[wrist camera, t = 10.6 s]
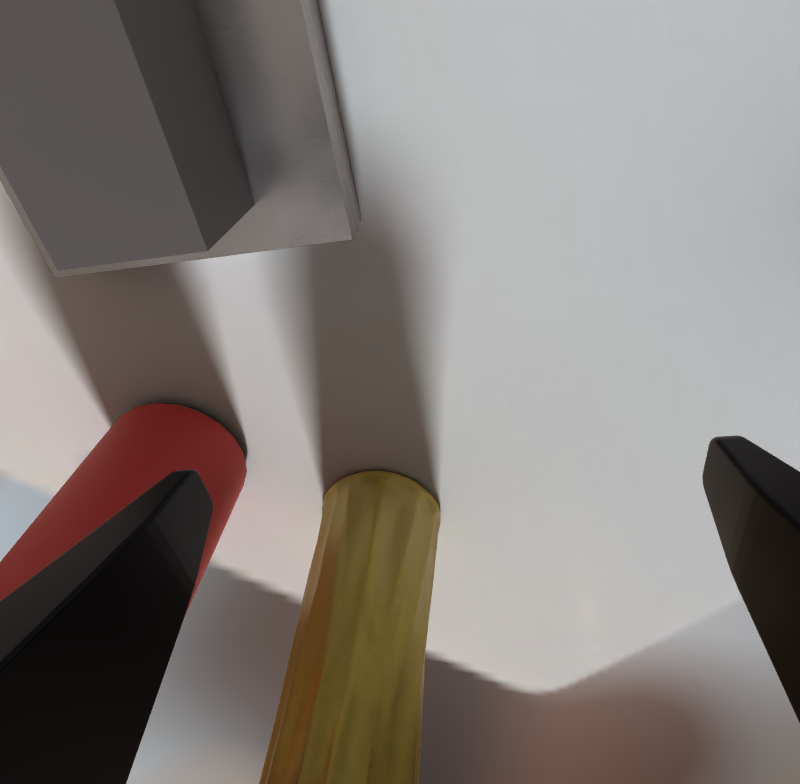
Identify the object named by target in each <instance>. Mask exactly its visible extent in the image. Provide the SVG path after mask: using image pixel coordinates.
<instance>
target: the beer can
mask: <svg viewBox="0 0 800 784" xmlns="http://www.w3.org/2000/svg"><path fill="white" fill-rule="evenodd" d="M190 469H191V470H195V471H197V472H198V473H199V475H200V477H201V479H202V481H203V482H204V484H205V486H206V488H207V490H208V492H209V494H210V496H211V498H212V502H213V514H212V518H211V522H210V526H209V531H208V535H207V539H206V543H205V547H204V552H203V556H202V560H201V564H200V569H199V573H198V577H197V580H196V584H195V587H194V590H193V593H192V597H191V600H190V602H189V605H188V608H189V606H190V604H191V601H192V599H193V597H194V594H195V592H196V590H197V588H198V585H199V583H200V581H201V579H202V577H203V574H204V572H205V570H206V568H207V566H208V563H209V561H210V559H211V557H212V554H213V552H214V550H215V548H216V545H217V543H218V541H219V539H220V536H221V534H222V532H223V530H224V528H225V525H226V523H227V521H228V519H229V516H230V514H231V512H232V510H233V507H234V505H235V503H236V501H237V498H238V496H239V494H240V492H241V490H242V487H243V485H244V481H245V477H246V473H247V469H246V464H245V459H244V454H243V451H242V450H241V448H240V447H239V445H238V443H237V442H236V440H235V438H234V437H233V435H232V434H231V433H230V432H228V431H227V430H226V429H225V428H224V427H223V426H222V425H221V424H220V423H219V422H218V421H216V420H214V419H212V418H211V417H209V416H207V415H206V414H204V413H202V412H200V411H198V410H195V409H191V408H188V407H185V406H182V405H178V404H164V403H153V404H148V405H143V406H139V407H135V408H133V409H131V410H130V411H128V412H127V413H125V414H124V415H122V416H121V417H119V418H118V420H117V421H116V422H115V423H114V424H113V426H112V427H111V428H110V429H109V431H108V432H107V433H106V434H105V435H104V437H103V438H102V439H101V440H100V441H99V443H98V444H97V445H96V446H95V448H94V449H93V450H92V451H91V452H90V454H89V455H88V456H87V457H86V458H85V460H84V461H83V462H82V463H81V465H80V466H79V467H78V468H77V469H76V471H75V472H74V473H73V474H72V476H71V477H70V478H69V479H68V480H67V482H66V483H65V484H64V485H63V486H62V488H61V489H60V490H59V491H58V493H57V494H56V495H55V496H54V497H53V499H52V500H51V501H50V502H49V503H48V505H47V506H46V507H45V509H44V510H43V511H42V512H41V513H40V514H39V516H38V517H37V518H36V519H35V521H34V522H33V523H32V524H31V525H30V527H29V528H28V529H27V530H26V532H25V533H24V534H23V535H22V536H21V538H20V539H19V540H18V541H17V542H16V544H15V545H14V546H13V547H12V548H11V550H10V551H9V552H8V553H7V555H6V556H5V557H4V558H3V559H2V561H1V562H0V601H1V600H2V599H4V598H5V597H6V596H8V595H9V594H10V593H12V592H13V591H14V590H16V589H17V588H18V587H20V586H21V585H22V584H24V583H25V582H26V581H28V580H29V579H30V578H32V577H33V576H34V575H35V574H37V573H38V572H39V571H41V570H42V569H43V568H45V567H46V566H47V565H49V564H50V563H51V562H53V561H54V560H55V559H57V558H58V557H59V556H61V555H62V554H63V553H65V552H66V551H67V550H69V549H70V548H71V547H73V546H74V545H75V544H77V543H78V542H79V541H81V540H82V539H83V538H85V537H86V536H87V535H89V534H90V533H91V532H93V531H94V530H95V529H97V528H98V527H99V526H101V525H102V524H103V523H105V522H106V521H107V520H109V519H110V518H111V517H113V516H114V515H115V514H117V513H118V512H119V511H121V510H122V509H123V508H125V507H126V506H127V505H129V504H130V503H131V502H133V501H134V500H135V499H137V498H138V497H139V496H140V495H142V494H143V493H144V492H146V491H147V490H148V489H150V488H151V487H152V486H154V485H155V484H156V483H158V482H159V481H160V480H162V479H163V478H164V477H166V476H167V475H168V474H170V473H171V472H173V471H177V470H190ZM188 608H187V610H188ZM186 612H187V611H186ZM185 615H186V614H185Z"/></svg>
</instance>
